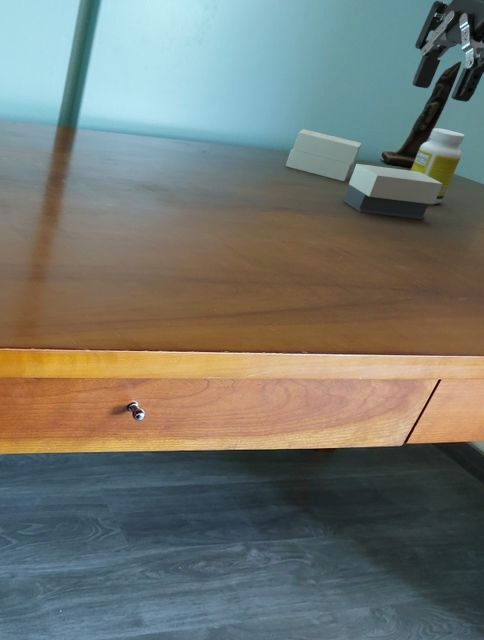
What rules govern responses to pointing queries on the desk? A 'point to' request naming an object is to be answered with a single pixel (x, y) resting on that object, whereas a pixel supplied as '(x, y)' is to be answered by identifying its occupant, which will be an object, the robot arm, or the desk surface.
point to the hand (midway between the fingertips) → (438, 93)
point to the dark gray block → (384, 205)
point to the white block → (395, 184)
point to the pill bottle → (439, 157)
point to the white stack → (323, 154)
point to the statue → (425, 120)
